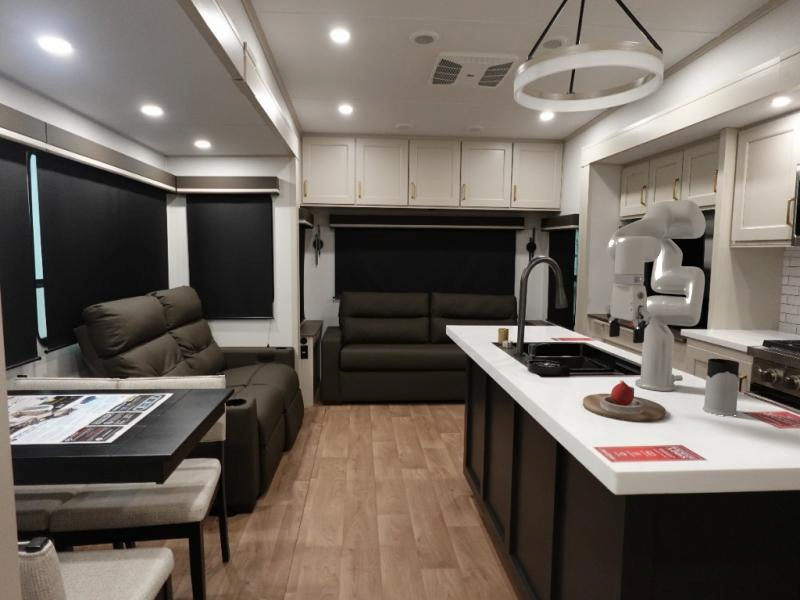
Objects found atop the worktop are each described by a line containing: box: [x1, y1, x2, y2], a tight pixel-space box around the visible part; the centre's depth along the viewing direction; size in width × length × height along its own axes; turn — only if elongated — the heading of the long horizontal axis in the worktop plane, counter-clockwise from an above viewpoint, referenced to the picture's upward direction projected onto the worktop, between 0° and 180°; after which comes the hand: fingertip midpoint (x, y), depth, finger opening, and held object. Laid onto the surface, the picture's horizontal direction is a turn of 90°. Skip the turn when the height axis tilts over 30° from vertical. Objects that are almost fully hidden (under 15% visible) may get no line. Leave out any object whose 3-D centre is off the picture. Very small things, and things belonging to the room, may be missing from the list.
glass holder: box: [701, 358, 740, 417], centre depth 143 cm, size 9×14×15 cm, turn 162°
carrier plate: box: [582, 385, 667, 423], centre depth 142 cm, size 22×22×4 cm
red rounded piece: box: [610, 379, 635, 406], centre depth 139 cm, size 6×6×8 cm
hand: (625, 339), depth 140 cm, fingers open, 9 cm apart
